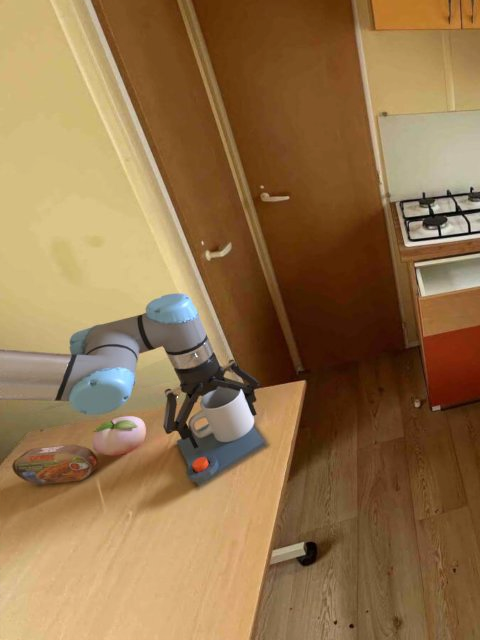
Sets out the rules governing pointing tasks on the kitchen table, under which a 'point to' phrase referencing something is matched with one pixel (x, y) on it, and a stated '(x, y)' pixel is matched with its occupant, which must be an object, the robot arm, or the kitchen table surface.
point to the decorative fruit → (119, 435)
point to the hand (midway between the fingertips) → (225, 427)
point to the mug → (224, 415)
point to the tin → (55, 464)
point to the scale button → (200, 464)
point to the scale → (218, 453)
